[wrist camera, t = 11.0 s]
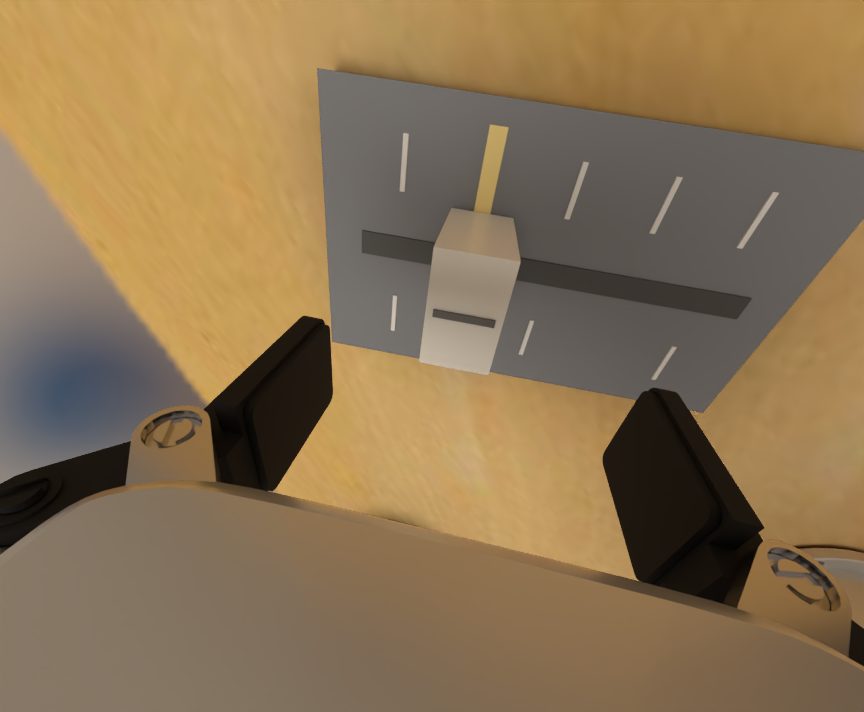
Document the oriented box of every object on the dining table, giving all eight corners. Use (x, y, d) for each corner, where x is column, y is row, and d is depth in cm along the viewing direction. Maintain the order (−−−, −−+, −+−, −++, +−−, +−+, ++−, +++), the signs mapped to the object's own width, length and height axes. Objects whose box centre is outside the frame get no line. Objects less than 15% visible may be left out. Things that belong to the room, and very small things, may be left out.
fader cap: (513, 217, 17) (521, 262, 12) (490, 309, 19) (488, 376, 15) (451, 207, 17) (433, 247, 12) (437, 300, 20) (418, 363, 15)
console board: (868, 154, 15) (917, 159, 13) (688, 391, 23) (704, 414, 22) (335, 72, 16) (315, 67, 14) (343, 326, 24) (331, 343, 23)
